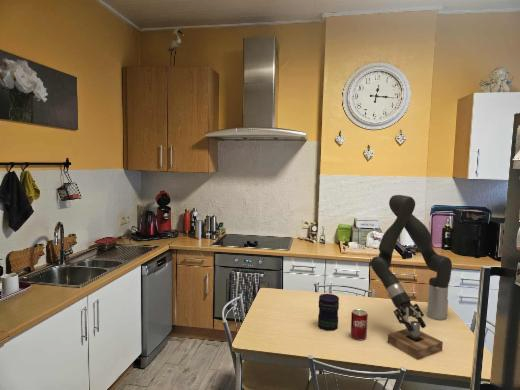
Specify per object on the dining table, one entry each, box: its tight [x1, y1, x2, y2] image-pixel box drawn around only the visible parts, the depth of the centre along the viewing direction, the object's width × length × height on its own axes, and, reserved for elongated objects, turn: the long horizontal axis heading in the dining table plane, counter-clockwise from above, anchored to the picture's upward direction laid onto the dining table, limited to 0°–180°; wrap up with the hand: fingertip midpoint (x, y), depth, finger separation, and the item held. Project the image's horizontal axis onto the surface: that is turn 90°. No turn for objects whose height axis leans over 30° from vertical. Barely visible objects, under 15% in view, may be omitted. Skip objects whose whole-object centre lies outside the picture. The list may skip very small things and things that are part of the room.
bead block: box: [386, 327, 444, 361], centre depth 160 cm, size 16×16×4 cm
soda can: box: [350, 308, 369, 341], centre depth 168 cm, size 7×7×12 cm
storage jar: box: [317, 293, 340, 332], centre depth 178 cm, size 10×10×15 cm
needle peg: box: [409, 320, 421, 342], centre depth 160 cm, size 4×4×11 cm
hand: (418, 329), depth 158 cm, fingers open, 8 cm apart
